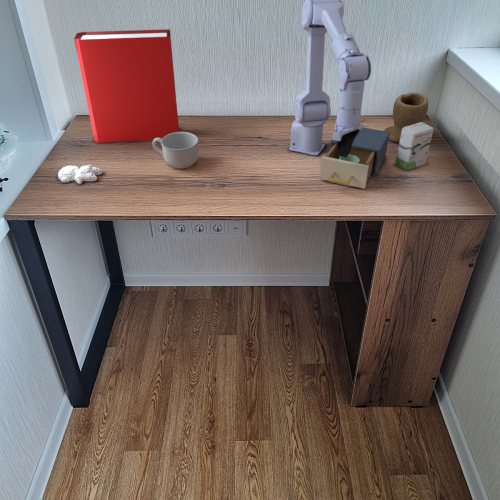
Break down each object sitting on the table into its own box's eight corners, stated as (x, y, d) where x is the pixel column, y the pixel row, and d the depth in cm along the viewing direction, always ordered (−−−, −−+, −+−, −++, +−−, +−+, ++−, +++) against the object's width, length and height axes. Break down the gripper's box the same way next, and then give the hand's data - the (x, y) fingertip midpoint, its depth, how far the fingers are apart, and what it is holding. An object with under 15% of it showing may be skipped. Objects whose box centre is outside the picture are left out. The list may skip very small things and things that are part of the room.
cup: (341, 166, 148) (342, 153, 146) (359, 170, 146) (361, 156, 144) (335, 174, 144) (336, 161, 141) (354, 178, 142) (356, 165, 140)
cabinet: (374, 176, 147) (379, 150, 142) (327, 166, 152) (330, 140, 147) (385, 156, 157) (389, 132, 152) (340, 148, 161) (343, 123, 156)
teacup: (206, 160, 155) (204, 135, 150) (188, 175, 147) (185, 150, 142) (167, 151, 159) (164, 127, 155) (147, 166, 152) (144, 141, 147)
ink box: (406, 171, 149) (414, 134, 142) (393, 164, 153) (401, 127, 145) (426, 163, 153) (435, 127, 146) (413, 157, 156) (421, 121, 149)
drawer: (360, 197, 136) (363, 175, 132) (314, 186, 141) (316, 165, 137) (375, 169, 149) (378, 148, 145) (332, 160, 153) (335, 140, 149)
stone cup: (389, 148, 161) (398, 102, 152) (380, 132, 171) (387, 88, 162) (436, 147, 162) (447, 101, 153) (424, 131, 171) (434, 87, 162)
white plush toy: (92, 186, 142) (90, 176, 141) (53, 181, 144) (50, 172, 142) (105, 171, 149) (103, 161, 147) (67, 167, 151) (65, 158, 149)
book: (178, 128, 173) (169, 29, 154) (179, 138, 167) (169, 36, 147) (97, 132, 170) (77, 32, 151) (94, 143, 164) (73, 39, 145)
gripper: (354, 119, 120) (347, 170, 128) (374, 99, 130) (367, 148, 138) (327, 113, 122) (322, 164, 131) (348, 94, 133) (342, 142, 141)
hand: (343, 155), depth 135 cm, fingers closed
